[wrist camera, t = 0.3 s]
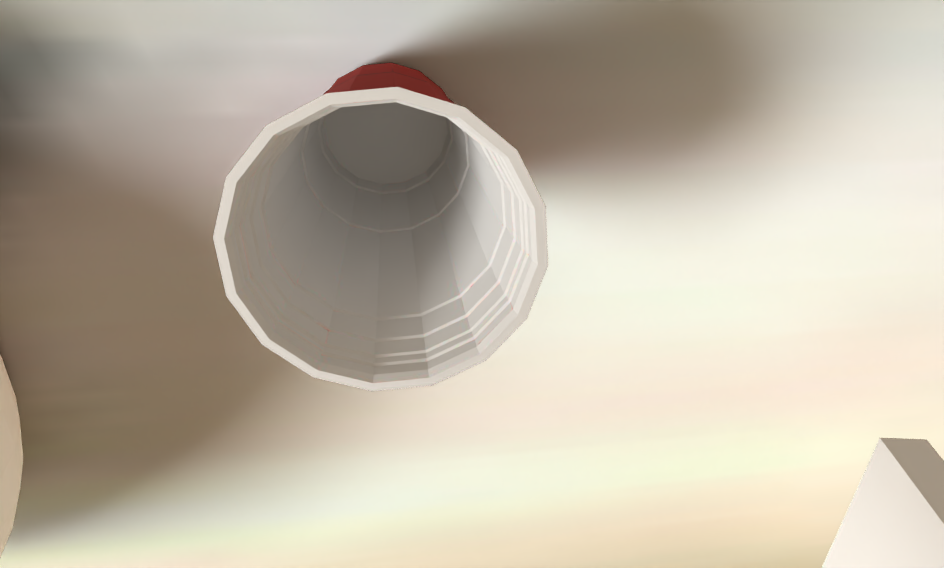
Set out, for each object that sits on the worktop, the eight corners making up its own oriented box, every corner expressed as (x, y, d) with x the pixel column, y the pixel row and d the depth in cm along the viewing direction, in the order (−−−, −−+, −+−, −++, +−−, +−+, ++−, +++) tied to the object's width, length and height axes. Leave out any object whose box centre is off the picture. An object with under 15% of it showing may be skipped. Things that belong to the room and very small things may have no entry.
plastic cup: (471, -41, 36) (505, 50, 26) (534, 194, 42) (582, 345, 31) (215, 38, 37) (149, 155, 26) (310, 258, 42) (286, 424, 32)
